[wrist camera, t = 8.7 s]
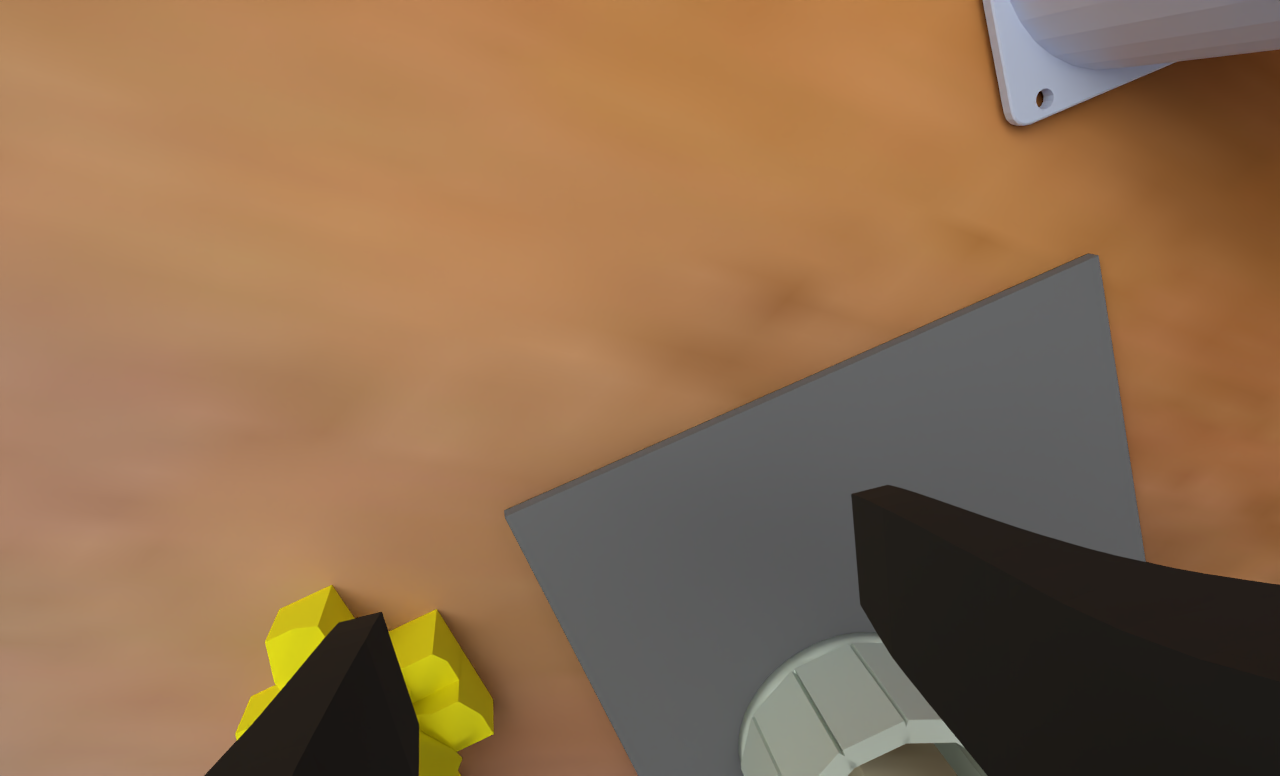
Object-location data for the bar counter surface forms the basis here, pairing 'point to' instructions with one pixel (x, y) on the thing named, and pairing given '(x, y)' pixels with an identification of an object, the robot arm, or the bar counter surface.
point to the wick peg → (907, 762)
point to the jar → (840, 713)
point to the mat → (824, 507)
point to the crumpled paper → (429, 664)
